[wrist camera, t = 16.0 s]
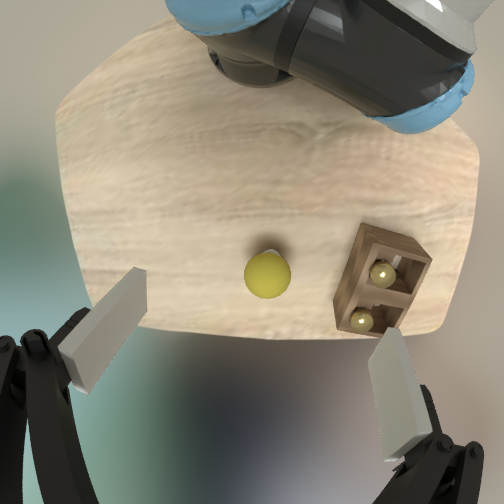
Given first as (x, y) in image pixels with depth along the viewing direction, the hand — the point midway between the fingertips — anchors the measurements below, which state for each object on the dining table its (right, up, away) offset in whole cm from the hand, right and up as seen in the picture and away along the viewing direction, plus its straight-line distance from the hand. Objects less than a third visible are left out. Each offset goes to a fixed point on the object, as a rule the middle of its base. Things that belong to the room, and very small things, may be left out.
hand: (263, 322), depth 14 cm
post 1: (+17, -3, +33) cm, 37 cm away
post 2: (+18, +4, +29) cm, 35 cm away
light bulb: (+3, +3, +33) cm, 33 cm away
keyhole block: (+20, 0, +31) cm, 37 cm away
